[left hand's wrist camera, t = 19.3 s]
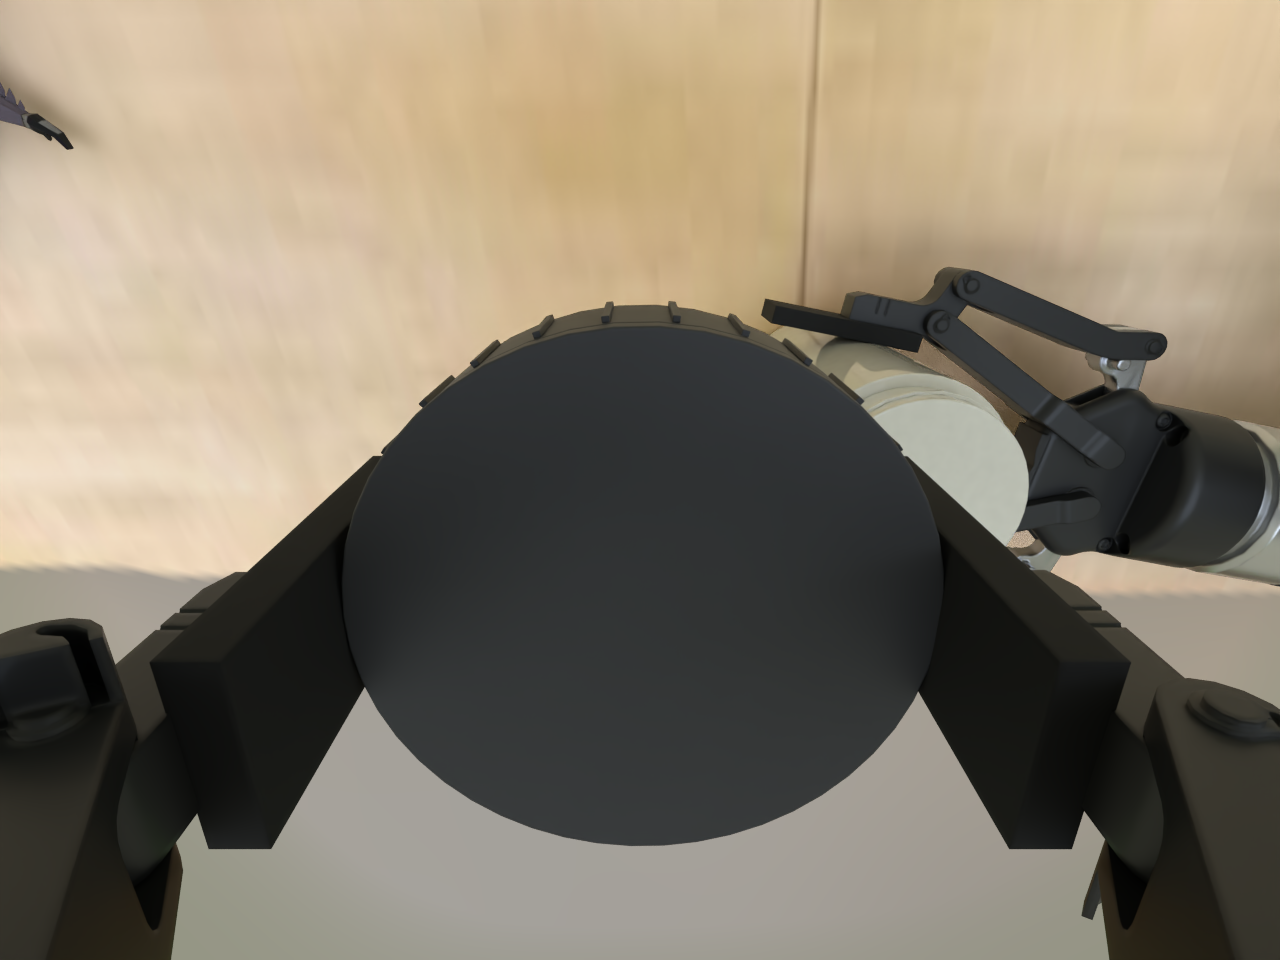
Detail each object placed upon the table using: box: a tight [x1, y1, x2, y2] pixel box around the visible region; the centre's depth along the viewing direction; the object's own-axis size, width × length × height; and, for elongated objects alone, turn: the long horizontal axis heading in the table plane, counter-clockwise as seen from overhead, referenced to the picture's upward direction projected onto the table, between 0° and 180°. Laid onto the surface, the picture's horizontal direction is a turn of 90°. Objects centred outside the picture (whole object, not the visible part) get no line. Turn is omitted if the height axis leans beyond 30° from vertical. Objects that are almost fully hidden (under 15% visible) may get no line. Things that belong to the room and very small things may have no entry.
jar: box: [770, 326, 1029, 546], centre depth 31 cm, size 8×8×16 cm
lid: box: [341, 301, 944, 846], centre depth 11 cm, size 9×9×2 cm
